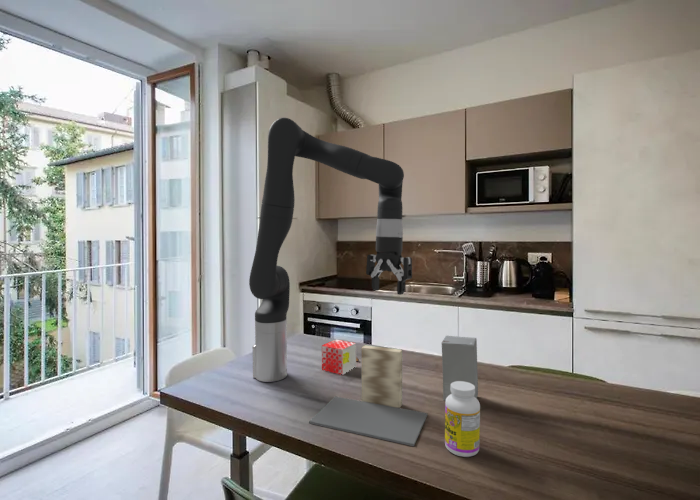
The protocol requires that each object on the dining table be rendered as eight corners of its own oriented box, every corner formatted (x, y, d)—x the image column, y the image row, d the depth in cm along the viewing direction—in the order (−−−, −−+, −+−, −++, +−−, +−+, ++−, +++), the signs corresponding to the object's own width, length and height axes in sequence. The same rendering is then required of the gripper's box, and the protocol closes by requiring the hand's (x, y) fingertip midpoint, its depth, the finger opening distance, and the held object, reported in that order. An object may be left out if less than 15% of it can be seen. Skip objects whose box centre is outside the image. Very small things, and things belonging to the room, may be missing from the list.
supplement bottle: (440, 440, 78) (440, 379, 77) (471, 438, 78) (471, 378, 78) (451, 459, 71) (452, 393, 70) (485, 457, 72) (486, 391, 71)
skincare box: (478, 396, 98) (478, 337, 98) (475, 407, 92) (476, 344, 91) (445, 390, 102) (446, 333, 101) (440, 401, 95) (441, 340, 95)
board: (361, 401, 96) (361, 347, 95) (364, 397, 98) (364, 345, 97) (399, 408, 92) (399, 352, 91) (402, 404, 94) (402, 349, 93)
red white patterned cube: (342, 375, 114) (342, 349, 113) (321, 370, 118) (321, 345, 117) (356, 367, 120) (356, 342, 120) (336, 362, 124) (335, 339, 124)
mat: (309, 423, 85) (309, 421, 85) (335, 398, 97) (335, 396, 97) (413, 446, 75) (413, 444, 75) (427, 415, 88) (427, 413, 88)
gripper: (361, 234, 107) (360, 290, 108) (403, 236, 98) (401, 297, 99) (377, 234, 113) (375, 288, 114) (418, 236, 104) (416, 294, 105)
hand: (387, 292), depth 106 cm, fingers open, 8 cm apart
